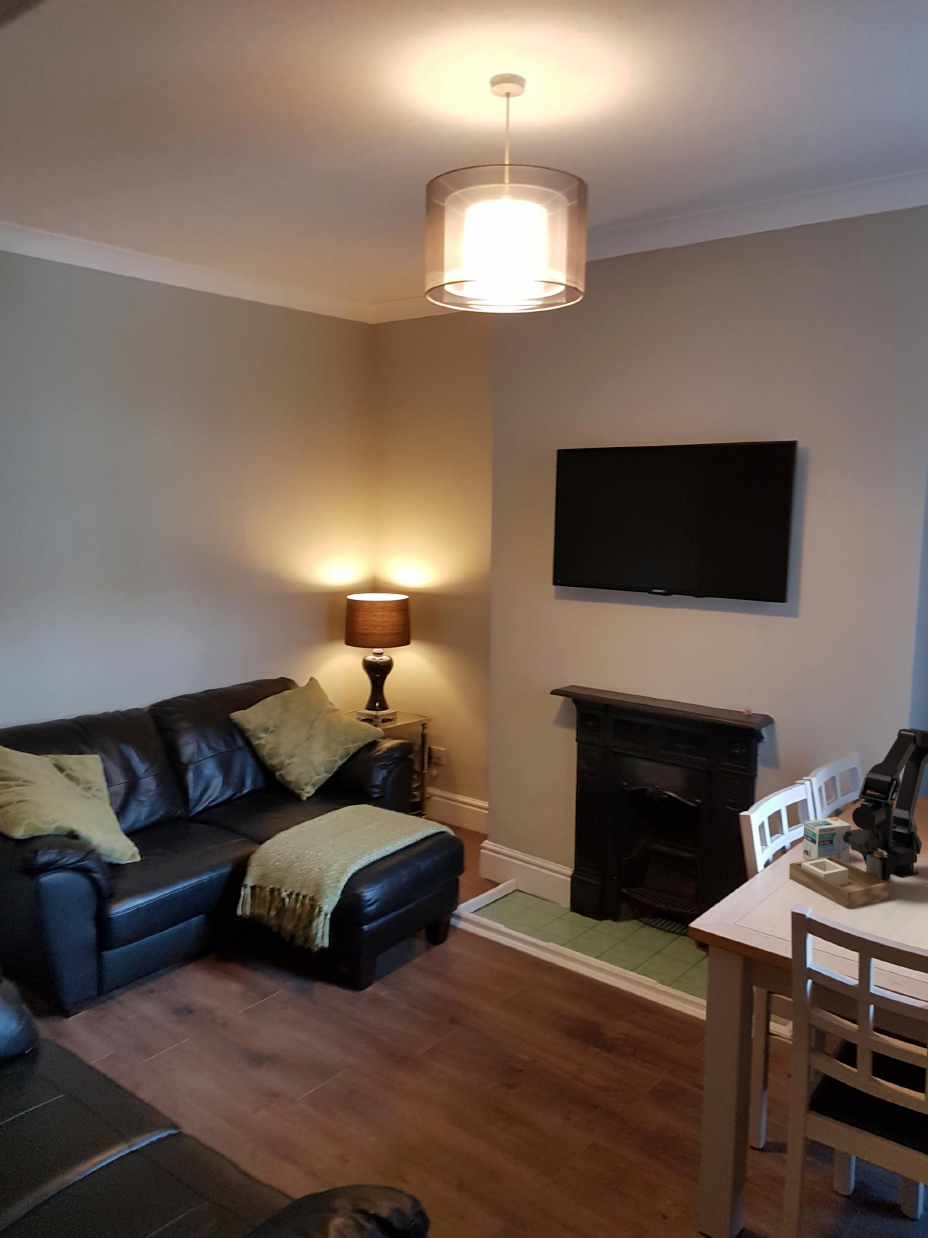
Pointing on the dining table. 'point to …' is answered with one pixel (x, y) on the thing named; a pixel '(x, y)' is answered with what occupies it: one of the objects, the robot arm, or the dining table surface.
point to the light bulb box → (826, 839)
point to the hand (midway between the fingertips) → (877, 878)
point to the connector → (875, 864)
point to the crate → (853, 894)
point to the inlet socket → (828, 871)
